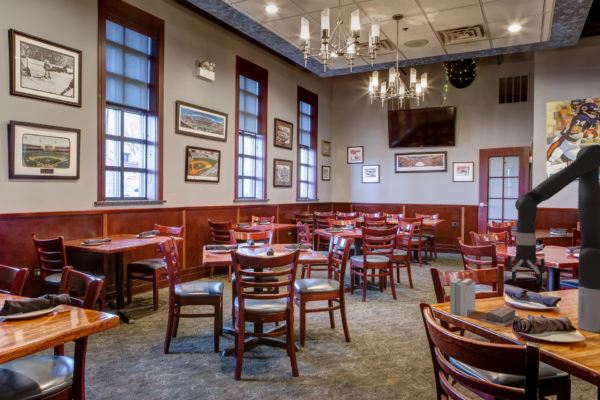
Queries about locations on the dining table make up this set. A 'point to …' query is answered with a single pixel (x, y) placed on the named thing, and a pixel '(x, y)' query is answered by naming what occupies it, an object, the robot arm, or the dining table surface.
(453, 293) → the book row
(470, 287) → the bookend
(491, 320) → the packaged product
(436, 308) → the dining table surface
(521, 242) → the robot arm
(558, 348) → the dining table surface
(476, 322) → the dining table surface
